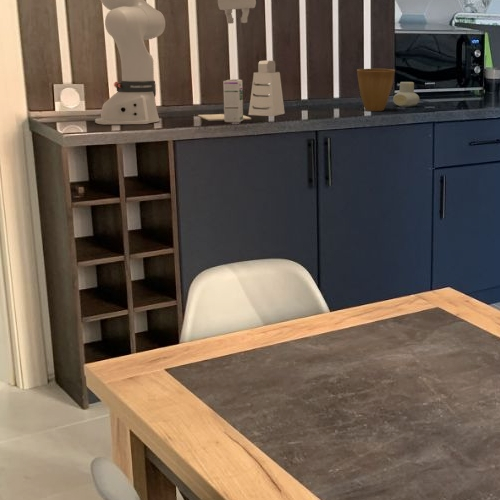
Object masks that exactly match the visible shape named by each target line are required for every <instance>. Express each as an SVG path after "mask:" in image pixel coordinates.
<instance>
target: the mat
mask: <svg viewBox="0 0 500 500" xmlns="http://www.w3.org/2000/svg"><path fill="white" fill-rule="evenodd" d="M197 117H198V118H201V119H203V120H206V121H209V122H210V121H224V113H219V114H218V113H217V114H216V113H215V114H213V113H212V114H198V115H197ZM245 120H252V117H250V116H246V115H244V114H243V121H245Z"/></svg>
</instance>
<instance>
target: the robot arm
mask: <svg viewBox="0 0 500 500" xmlns="http://www.w3.org/2000/svg"><path fill="white" fill-rule="evenodd" d="M99 1H100V2H101V3H102V5H103V6H104V7H105V8H106V9H107V10H109V11H108V12H107V14H106V15H105V20H104V24H105V30H106V32H107V33H108V34H109V36H110V37H111V38H112V40H113V41H114V42H115V45H116V47H117V50H118V54H119V57H120V67H121V80H120V81H115V82H114V83H113V86H114V88H116V91H117V92H116V93H114V94H113V95H112V96H110V98H108V99H107V100H106V101H105V102H104V103H103V105H102V106H101V111H100V112H101V113H100V116H101V117H97V118H95V119H94V123H96V124H98V125H147V124H151V123H156V122H160V118H159V114H158V109H157V103H156V94H157V89H156V88H157V87H156V86H157V84H156V80H155V79H154V78H155V72H154V58H153V55H151V54H150V52H149V51H148V49H147V47H146V44H145V40H147V41H148V40H152V39H155V38H157V37H160V36H161V35H162V34H163V33H164V31H165V29H166V19H165V16H164V15H163V13H162V12H161V11H160V10H158V9H156V8H154V7H153V6H152V5H151V4H149V3H148V2H147V1H146V0H99ZM217 5H218V9H219V10H221V11H224V15H225V17H226V23H227V24H228V25H229V24H234V23H235V22H234V21H235V20H234V17H233V10H241V12H242V14H241V17H240V23H241V24H246V23H248V17H249V14H250V9H254V8H255V7H256V5H257V1H256V0H217Z"/></svg>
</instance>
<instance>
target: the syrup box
mask: <svg viewBox="0 0 500 500" xmlns="http://www.w3.org/2000/svg"><path fill="white" fill-rule="evenodd" d="M222 85H223V86H222V87H223V114H224V120H223V121H224V123H241V122H243V121H244V120H243V115H244V100H243V98H244V97H243V91H244V90H243V88H244V87H243V79H236V78H235V79H227V80H223V84H222Z"/></svg>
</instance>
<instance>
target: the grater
mask: <svg viewBox="0 0 500 500" xmlns="http://www.w3.org/2000/svg"><path fill="white" fill-rule="evenodd" d="M257 65H258V67H257V68H258V69H257V70H258V71H256V72H253V76H252V82H251V83H252V85H251V93H250V100H249V107H248V114H247V115H248V116H261V117H262V116H263V117H266V116H267V117H276V116H280V115H284V114H286V112H285V106H284V98H283V89H282V81H281V73H280V71H276V61H275V60H260V61H259V62H258V64H257Z"/></svg>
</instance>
